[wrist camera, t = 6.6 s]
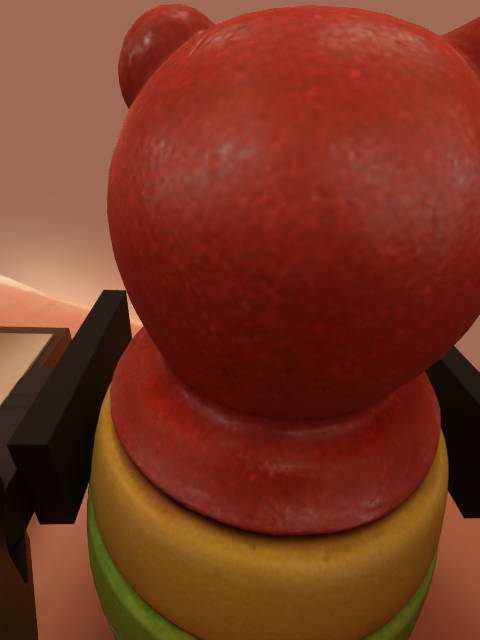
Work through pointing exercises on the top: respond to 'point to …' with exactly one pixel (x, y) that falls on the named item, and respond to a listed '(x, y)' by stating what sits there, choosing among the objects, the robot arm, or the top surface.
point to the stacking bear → (284, 321)
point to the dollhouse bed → (28, 352)
